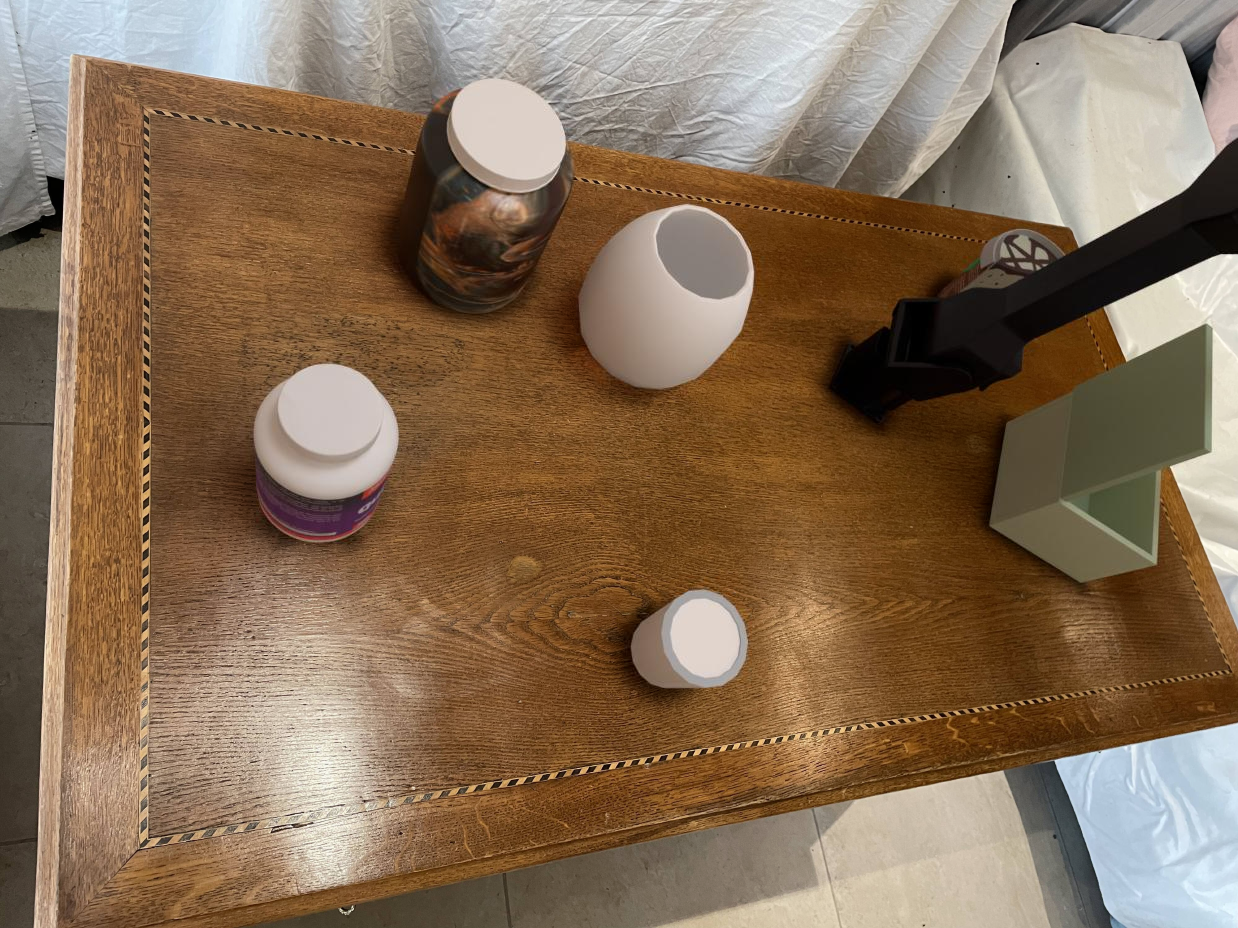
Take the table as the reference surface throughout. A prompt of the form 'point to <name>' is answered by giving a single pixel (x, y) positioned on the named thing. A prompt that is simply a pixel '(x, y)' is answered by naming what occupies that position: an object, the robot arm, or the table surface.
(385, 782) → the table surface
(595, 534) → the table surface
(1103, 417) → the lid
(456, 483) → the table surface
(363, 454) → the pill bottle
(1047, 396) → the table surface
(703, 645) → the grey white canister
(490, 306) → the jar
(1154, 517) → the chest
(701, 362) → the cup
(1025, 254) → the food container
